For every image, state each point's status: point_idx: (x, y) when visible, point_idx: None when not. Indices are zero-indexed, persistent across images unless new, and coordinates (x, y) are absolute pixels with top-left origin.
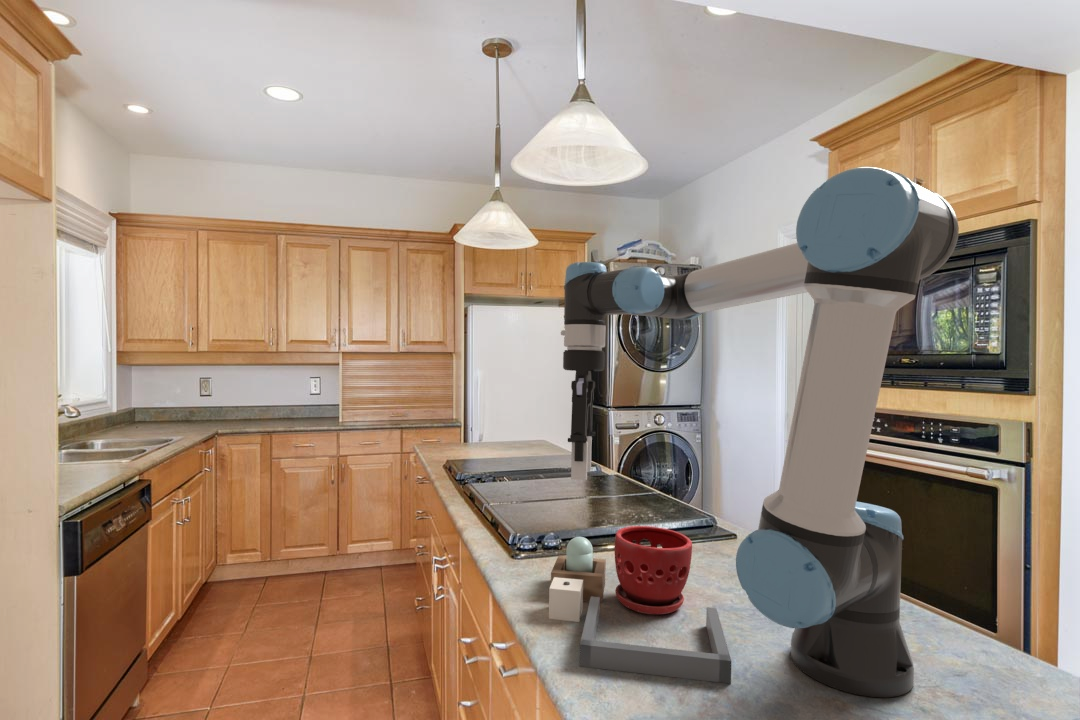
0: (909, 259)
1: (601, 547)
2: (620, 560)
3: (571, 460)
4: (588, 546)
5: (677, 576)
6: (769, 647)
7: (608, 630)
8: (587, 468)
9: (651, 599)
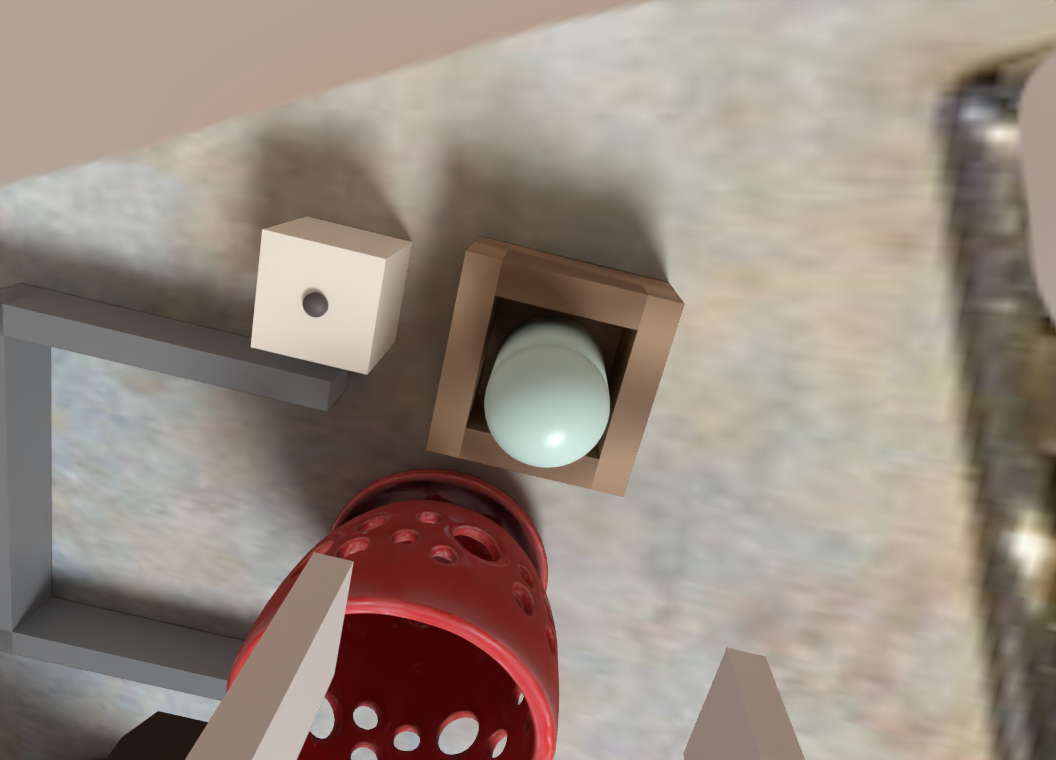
0: None
1: (1027, 508)
2: (364, 547)
3: (231, 686)
4: (505, 449)
5: None
6: None
7: (246, 398)
8: (696, 755)
9: None
